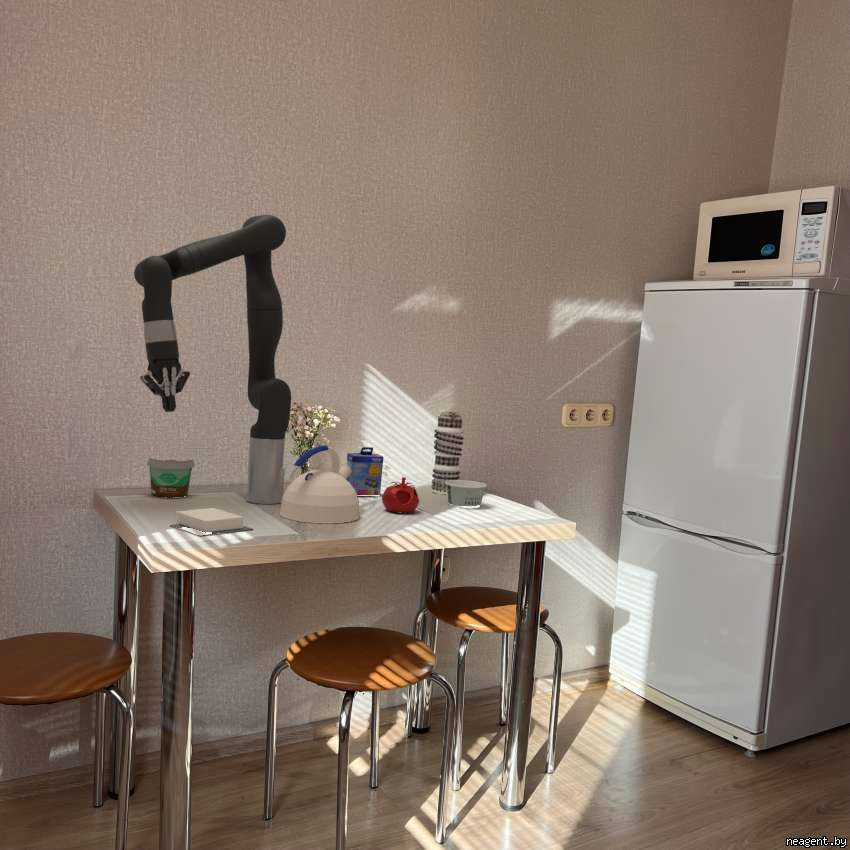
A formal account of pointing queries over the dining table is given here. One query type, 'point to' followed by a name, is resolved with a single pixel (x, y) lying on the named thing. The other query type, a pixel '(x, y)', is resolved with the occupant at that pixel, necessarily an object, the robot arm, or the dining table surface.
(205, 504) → the dining table surface
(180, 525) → the mat
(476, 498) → the food container
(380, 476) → the ink cartridge box
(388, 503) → the pomegranate
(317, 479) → the kettle
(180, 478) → the food container
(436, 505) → the dining table surface
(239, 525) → the tile
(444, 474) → the leaning tower model
